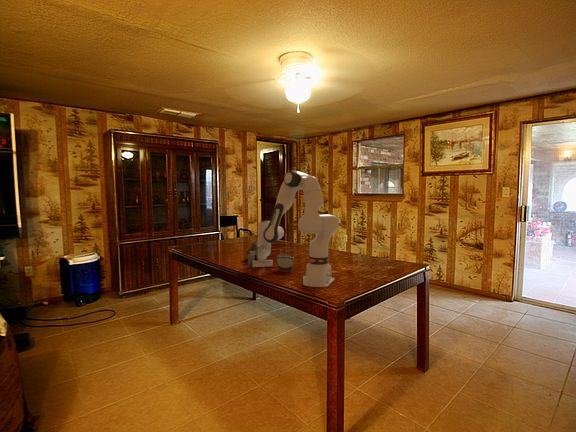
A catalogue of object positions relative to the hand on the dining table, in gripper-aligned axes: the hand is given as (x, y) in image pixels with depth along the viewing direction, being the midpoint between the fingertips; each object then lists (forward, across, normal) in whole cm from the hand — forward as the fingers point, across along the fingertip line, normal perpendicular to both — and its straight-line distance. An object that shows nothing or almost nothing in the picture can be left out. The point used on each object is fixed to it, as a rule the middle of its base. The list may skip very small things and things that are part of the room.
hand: (264, 263), depth 213 cm
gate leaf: (+2, +2, +1) cm, 3 cm away
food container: (+3, -4, -16) cm, 17 cm away
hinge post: (+3, -2, +10) cm, 10 cm away
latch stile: (+3, +12, +13) cm, 18 cm away
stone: (+3, +26, +15) cm, 30 cm away
